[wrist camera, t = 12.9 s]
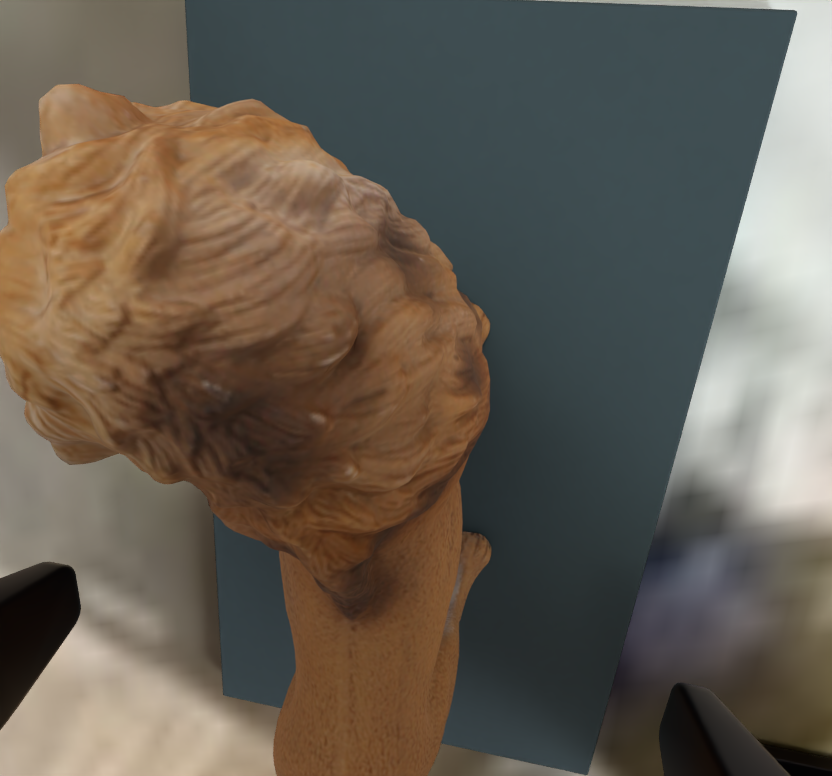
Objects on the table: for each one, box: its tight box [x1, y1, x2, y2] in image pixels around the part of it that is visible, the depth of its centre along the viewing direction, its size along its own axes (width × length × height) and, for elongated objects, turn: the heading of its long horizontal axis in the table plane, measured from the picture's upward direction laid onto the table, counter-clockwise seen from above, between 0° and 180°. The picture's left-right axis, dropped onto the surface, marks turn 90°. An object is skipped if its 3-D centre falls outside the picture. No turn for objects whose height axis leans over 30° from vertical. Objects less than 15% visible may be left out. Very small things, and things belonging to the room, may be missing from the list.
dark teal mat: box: [185, 0, 797, 775], centre depth 14 cm, size 12×20×1 cm, turn 175°
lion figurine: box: [0, 84, 491, 776], centre depth 10 cm, size 15×5×9 cm, turn 9°
